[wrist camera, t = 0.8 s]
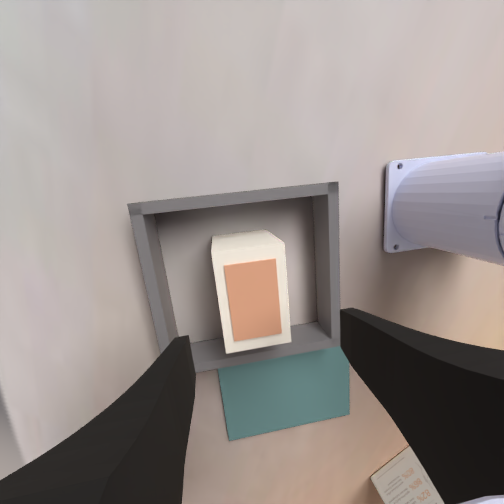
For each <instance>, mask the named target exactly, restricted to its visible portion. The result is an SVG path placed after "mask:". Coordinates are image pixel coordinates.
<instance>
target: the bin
mask: <svg viewBox="0 0 504 504" xmlns="http://www.w3.org/2000/svg"><path fill="white" fill-rule="evenodd" d="M306 196H313V220H314V245H315V270H316V295H317V320H318V321H317V322H311V323H306V324H300V325H294V326H290V329H291V342H289V343H283V344H278V345H272V346H267V347H261V348H255V349H250V350H244V351H239V352H233V353H228V354H226V349H225V343H224V338H218V339H213V340H207V341H201V342H195V343H190V346H191V351H192V356H193V362H194V367H195V373H198V372H203V371H208V370H214V369H219V368H224V367H230V366H235V365H241V364H246V363H251V362H257V361H262V360H267V359H273V358H278V357H284V356H289V355H294V354H300V353H305V352H310V351H316V350H321V349H327V348H332V347H337V346H340V256H339V188H338V182H329V183H319V184H310V185H300V186H291V187H281V188H272V189H262V190H253V191H243V192H234V193H224V194H215V195H205V196H196V197H186V198H177V199H167V200H158V201H148V202H139V203H130V204H127V205H128V209H129V214H130V218H131V223H132V227H133V232H134V236H135V241H136V245H137V250H138V254H139V259H140V263H141V268H142V272H143V277H144V281H145V286H146V290H147V295H148V299H149V303H150V308H151V312H152V317H153V321H154V326H155V330H156V335H157V339H158V344H159V348H160V353H162V352H163V351H164V350H165V349H166V347H167V346H168V345H169V344H170V343H171V341H172V340H173V339H174V338H175V337H178V332H177V327H176V322H175V317H174V312H173V307H172V302H171V297H170V292H169V287H168V281H167V276H166V271H165V266H164V261H163V256H162V251H161V246H160V241H159V236H158V231H157V226H156V221H155V216H154V213H162V212H171V211H180V210H189V209H198V208H207V207H216V206H225V205H234V204H243V203H252V202H261V201H270V200H279V199H288V198H297V197H306Z"/></svg>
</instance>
